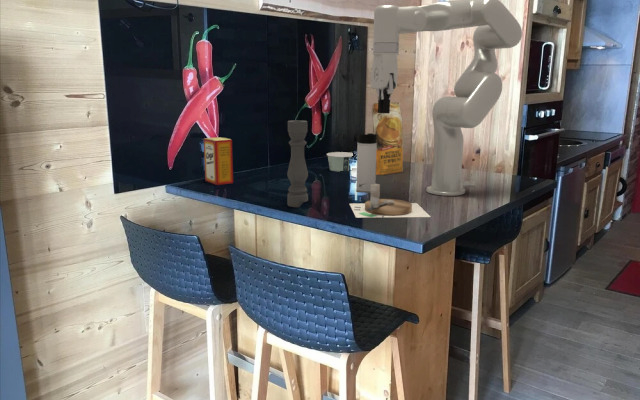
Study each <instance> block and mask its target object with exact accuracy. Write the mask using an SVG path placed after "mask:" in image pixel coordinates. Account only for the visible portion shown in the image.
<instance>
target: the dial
mask: <svg viewBox="0 0 640 400" xmlns="http://www.w3.org/2000/svg"><path fill="white" fill-rule="evenodd" d="M380 187H381V184H379V183H375V184H371V193H370V200H366V201H365V202H364V203H365V210H366V211H368V212H371V213H375V214H381V215H402V214H407V213H410V212H411V211H412V204H411V202H409V201H407V200H402V199H395V198H380V196H381V195H380V194H381V191H380V190H381V188H380Z"/></svg>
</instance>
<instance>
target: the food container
mask: <svg viewBox="0 0 640 400" xmlns="http://www.w3.org/2000/svg"><path fill="white" fill-rule="evenodd" d="M326 156H327V159H328V160H327V161H328V166H329V167H328V168H329V170H330V171H333V172H340V171H344V172H350V171H349V159H350V158H351V157H352V156H353V152H343V151H341V152H340V151H334V152H333V151H332V152H328V153H326Z"/></svg>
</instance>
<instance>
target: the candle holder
mask: <svg viewBox="0 0 640 400" xmlns="http://www.w3.org/2000/svg"><path fill="white" fill-rule="evenodd" d="M287 133H288V136H289V138H290V141H288V144H289V145H290V160H289V164H288V169H287V173H286V174H287V178H288V180H289V181H290V186H289V187H288V189H287V190H288V192H287V201H286V202H287V206H288V207H291V208H300V207H301V206H302V205H303V204H305V202H308V201H309V193H307V192H308V188H307V187H306V185H305V184H306V181H307V179H308V177H309V172H308V171H309V170H308V167H307V163H306V158H305V146H306V145H307V141H306V140H305V139H306V136H307V133H308V121H307V120H303V119H302V120H297V119H296V120H295V119H294V120H288V121H287Z"/></svg>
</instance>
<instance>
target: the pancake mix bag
mask: <svg viewBox="0 0 640 400" xmlns="http://www.w3.org/2000/svg"><path fill="white" fill-rule="evenodd" d="M371 117H372V129H373V130H372V131H373V132H372V133H373V134H377V140H376V143H377V144H376V145H377V147H376V176H386V175H393V174H399V173H400V174H401V173H403V171H404V167H403V165H404V164H403V163H404V162H403V161H404V124H403V117H402V108H401V104H400V103H399V102H390V113H378V102H374V103H373V104H372V105H371Z"/></svg>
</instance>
